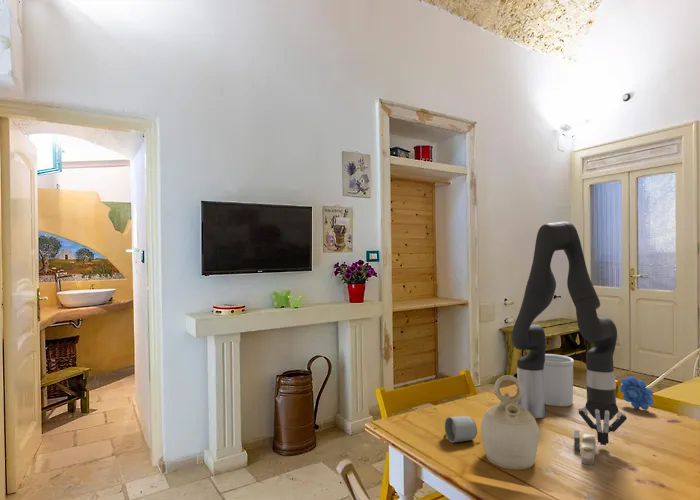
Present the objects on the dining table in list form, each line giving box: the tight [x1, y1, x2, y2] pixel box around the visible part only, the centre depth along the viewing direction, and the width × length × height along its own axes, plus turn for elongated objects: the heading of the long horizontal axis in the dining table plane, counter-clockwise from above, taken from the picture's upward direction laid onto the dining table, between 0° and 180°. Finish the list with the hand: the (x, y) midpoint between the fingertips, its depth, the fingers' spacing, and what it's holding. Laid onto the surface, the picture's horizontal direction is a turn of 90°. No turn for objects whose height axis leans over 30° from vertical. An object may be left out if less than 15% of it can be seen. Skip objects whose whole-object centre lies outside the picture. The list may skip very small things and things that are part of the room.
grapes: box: [618, 375, 655, 411], centre depth 166 cm, size 12×7×12 cm, turn 35°
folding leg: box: [580, 431, 597, 466], centre depth 126 cm, size 16×3×4 cm, turn 149°
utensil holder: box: [544, 353, 575, 407], centre depth 176 cm, size 15×15×18 cm
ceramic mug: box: [444, 415, 478, 444], centre depth 141 cm, size 11×8×8 cm
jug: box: [480, 374, 540, 471], centre depth 124 cm, size 15×16×25 cm
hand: (603, 444), depth 129 cm, fingers closed
